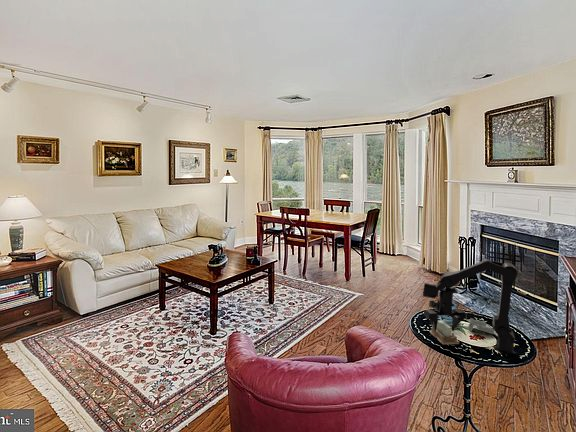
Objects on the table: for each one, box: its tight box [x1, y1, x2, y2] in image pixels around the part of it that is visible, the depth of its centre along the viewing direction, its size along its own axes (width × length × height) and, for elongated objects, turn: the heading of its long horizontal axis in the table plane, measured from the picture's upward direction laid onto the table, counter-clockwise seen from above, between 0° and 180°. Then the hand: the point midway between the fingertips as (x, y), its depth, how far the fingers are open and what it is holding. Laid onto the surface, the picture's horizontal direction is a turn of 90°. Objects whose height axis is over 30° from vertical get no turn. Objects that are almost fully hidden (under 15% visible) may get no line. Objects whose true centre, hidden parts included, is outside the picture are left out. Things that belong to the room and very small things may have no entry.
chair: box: [438, 300, 458, 324], centre depth 185 cm, size 8×8×12 cm
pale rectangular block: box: [437, 319, 452, 337], centre depth 166 cm, size 8×3×6 cm, turn 6°
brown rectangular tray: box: [429, 327, 460, 345], centre depth 166 cm, size 12×8×4 cm, turn 6°
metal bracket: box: [465, 317, 498, 338], centre depth 175 cm, size 14×6×15 cm
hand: (443, 331), depth 166 cm, fingers open, 9 cm apart
